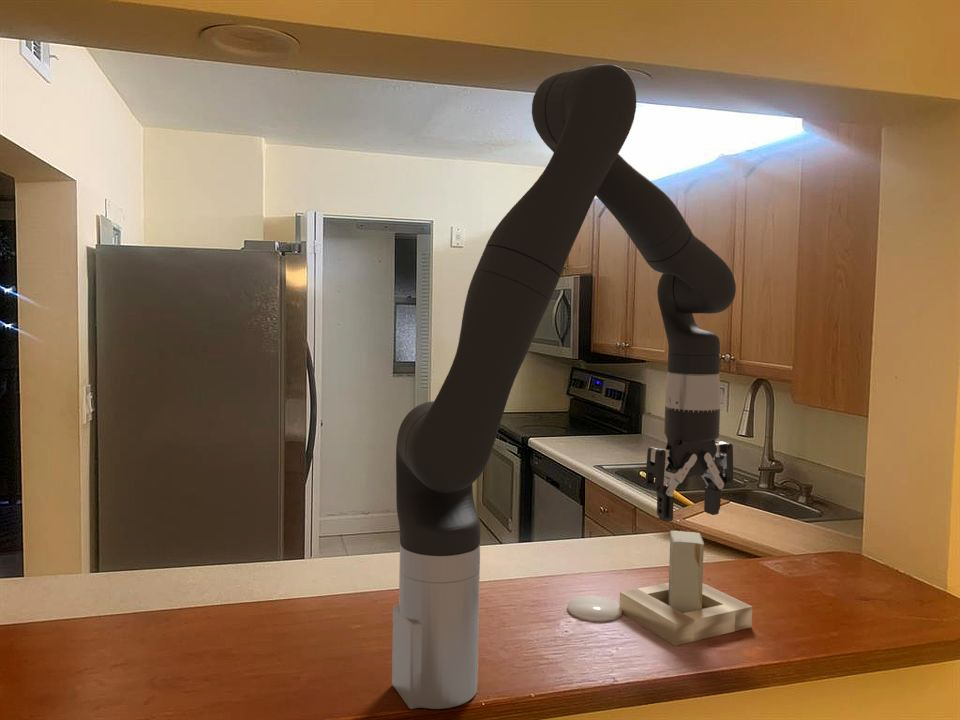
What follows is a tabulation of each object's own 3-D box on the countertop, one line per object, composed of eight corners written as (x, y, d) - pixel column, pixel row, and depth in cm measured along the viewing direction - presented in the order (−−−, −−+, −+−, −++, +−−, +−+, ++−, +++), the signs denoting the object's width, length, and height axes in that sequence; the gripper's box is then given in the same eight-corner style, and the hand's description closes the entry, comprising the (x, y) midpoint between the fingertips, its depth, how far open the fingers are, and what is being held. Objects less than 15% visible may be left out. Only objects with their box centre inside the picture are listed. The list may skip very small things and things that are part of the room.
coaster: (588, 625, 101) (588, 621, 101) (557, 604, 108) (557, 600, 108) (633, 615, 104) (633, 611, 104) (600, 596, 111) (600, 592, 111)
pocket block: (675, 645, 95) (675, 623, 95) (619, 611, 106) (619, 591, 105) (751, 627, 101) (752, 606, 101) (691, 596, 112) (692, 578, 112)
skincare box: (701, 630, 100) (705, 544, 99) (669, 627, 101) (672, 542, 100) (697, 612, 106) (700, 531, 105) (667, 609, 107) (670, 529, 106)
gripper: (671, 410, 95) (668, 530, 96) (749, 405, 101) (745, 518, 102) (635, 403, 101) (632, 516, 103) (710, 399, 108) (707, 505, 109)
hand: (689, 516), depth 102 cm, fingers open, 8 cm apart
